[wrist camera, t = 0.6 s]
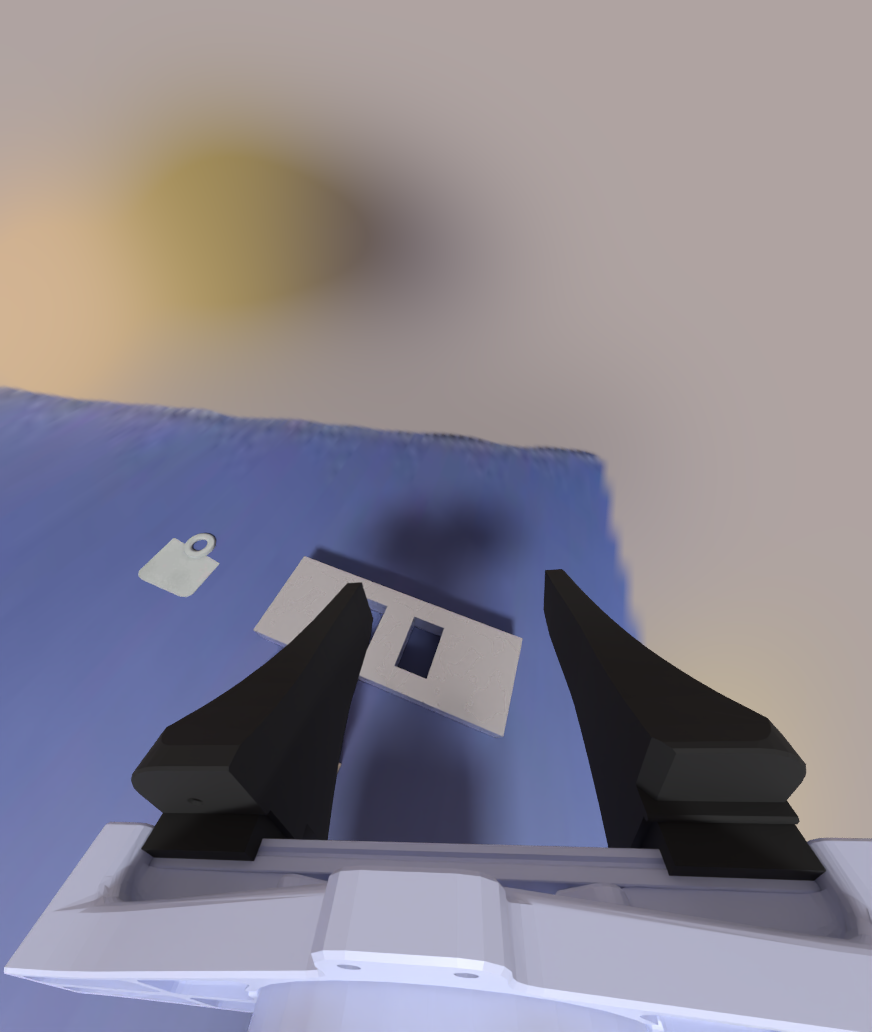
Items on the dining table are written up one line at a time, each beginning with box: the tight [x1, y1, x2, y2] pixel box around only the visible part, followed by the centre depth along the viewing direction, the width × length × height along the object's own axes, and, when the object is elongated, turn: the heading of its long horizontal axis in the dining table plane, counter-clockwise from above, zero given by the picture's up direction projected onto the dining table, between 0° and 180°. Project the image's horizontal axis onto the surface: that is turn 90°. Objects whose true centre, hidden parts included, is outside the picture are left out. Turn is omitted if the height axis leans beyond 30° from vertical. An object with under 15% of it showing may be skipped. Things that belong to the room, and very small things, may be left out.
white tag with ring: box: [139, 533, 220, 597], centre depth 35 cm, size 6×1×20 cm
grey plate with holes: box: [254, 556, 522, 738], centre depth 27 cm, size 7×20×2 cm, turn 70°
